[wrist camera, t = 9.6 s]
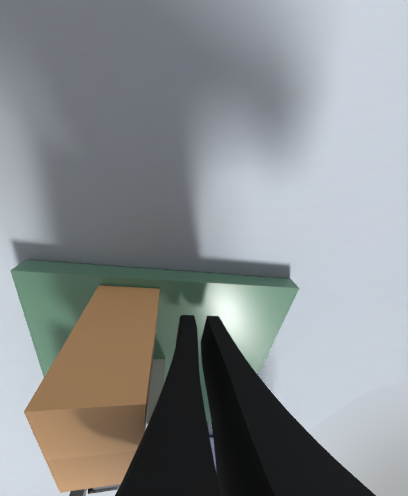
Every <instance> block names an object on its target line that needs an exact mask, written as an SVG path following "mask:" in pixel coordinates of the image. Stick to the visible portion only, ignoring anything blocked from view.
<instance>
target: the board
mask: <svg viewBox="0 0 408 496" xmlns="http://www.w3.org/2000/svg"><path fill="white" fill-rule="evenodd" d="M11 273H12V277H13V280H14V283H15V286H16V289H17V293H18V296H19V299H20V302H21V305H22V309H23V312H24V315H25V318H26V321H27V324H28V328H29V331H30V334H31V337H32V340H33V344H34V347H35V350H36V353H37V356H38V360H39V363H40V366H41V369H42V372H43V376H44V377H45V376H46V374H47V372H48V370H49V369H50V367H51V365H52V364H53V362H54V360H55V359H56V357H57V355H58V354H59V352H60V350H61V348H62V347H63V345H64V343H65V342H66V340H67V338H68V337H69V335H70V333H71V332H72V330H73V328H74V326H75V325H76V323H77V321H78V320H79V318H80V316H81V315H82V313H83V311H84V310H85V308H86V306H87V304H88V303H89V301H90V299H91V298H92V296H93V294H94V293H95V291H96V289H97V288H98V286H99V285H100V286H119V287H138V288H157V289H160V293H159V304H158V315H157V327H156V336H155V345H154V354H153V362H152V371H151V380H150V389H149V398H148V406H147V415H146V425H145V430H146V428H147V426H148V423H149V421H150V418H151V416H152V414H153V411H154V409H155V406H156V404H157V401H158V399H159V396H160V394H161V391H162V388H163V386H164V383H165V380H166V377H167V374H168V371H169V368H170V365H171V362H172V359H173V355H174V352H175V348H176V338H177V332H178V326H179V319H180V316H182V315H194V316H195V320H196V325H197V335H198V355H199V373H200V383H201V389H202V396H203V402H204V408H205V414H206V420H207V423H212V422H211V415H210V409H209V403H208V397H207V391H206V385H205V380H204V374H203V367H202V358H201V343H200V342H201V338H202V334H203V330H204V326H205V322H206V318H207V316H219V317H220V319H221V321H222V322H223V324H224V326H225V328H226V329H227V331H228V332H229V334H230V336H231V337H232V339H233V341H234V342H235V344H236V345H237V347H238V348H239V350H240V351H241V353H242V354H243V356H244V357H245V358H246V360H247V361H248V363H249V364H250V365H251V367H252V368H253V369H254V371H255V372H256V374H257V375H258V373H259V371H260V369H261V367H262V365H263V363H264V361H265V359H266V356H267V354H268V352H269V350H270V348H271V346H272V344H273V342H274V340H275V338H276V336H277V334H278V331H279V329H280V327H281V325H282V323H283V321H284V319H285V317H286V315H287V313H288V311H289V308H290V306H291V304H292V302H293V300H294V298H295V296H296V294H297V292H298V290H299V288H298V287H297V285H296V284H295V283H294V282H293V281H292V280H291V279H288V278H274V277H260V276H246V275H232V274H218V273H204V272H190V271H177V270H163V269H149V268H135V267H121V266H107V265H93V264H79V263H65V262H51V261H37V260H25V261H24V262H22V263H21V264H19V265H18V266H16V267H15V268H14V269H12V270H11ZM86 491H87V489H82V490H74V491H71V492H70V495H69V496H85V495H86Z"/></svg>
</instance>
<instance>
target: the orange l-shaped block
mask: <svg viewBox="0 0 408 496" xmlns="http://www.w3.org/2000/svg"><path fill="white" fill-rule="evenodd" d="M159 293H160V289H157V288H138V287H119V286H100V285H99V286H98V288H97V289H96V291H95V293H94V294H93V296H92V298H91V299H90V301H89V303H88V304H87V306H86V308H85V310H84V311H83V313H82V315H81V316H80V318H79V320H78V321H77V323H76V325H75V326H74V328H73V330H72V332H71V333H70V335H69V337H68V338H67V340H66V342H65V343H64V345H63V347H62V348H61V350H60V352H59V354H58V355H57V357H56V359H55V360H54V362H53V364H52V365H51V367H50V369H49V370H48V372H47V374H46V376H45V377H44V379H43V381H42V382H41V384H40V386H39V387H38V389H37V391H36V392H35V394H34V396H33V398H32V399H31V401H30V403H29V404H28V406H27V408H26V409H25V411H24V413H25V415H26V417H27V420H28V422H29V424H30V426H31V429H32V431H33V433H34V435H35V438H36V440H37V442H38V444H39V447H40V449H41V451H42V453H43V456H44V458H45V460H46V462H47V464H48V467H49V469H50V471H51V473H52V476H53V478H54V480H55V482H56V485H57V487H58V489H59V491H60V492H67V491H74V490H82V489H89V488H96V487H103V486H110V485H118V484H121V483H122V481H123V478H124V476H125V474H126V472H127V470H128V468H129V465H130V463H131V461H132V459H133V457H134V455H135V452H136V450H137V448H138V446H139V444H140V442H141V439H142V437H143V435H144V433H145V425H146V415H147V406H148V398H149V389H150V380H151V371H152V362H153V354H154V345H155V336H156V327H157V315H158V304H159Z"/></svg>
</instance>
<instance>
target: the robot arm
mask: <svg viewBox="0 0 408 496" xmlns="http://www.w3.org/2000/svg"><path fill="white" fill-rule="evenodd" d="M200 343H201V358H202V367H203V374H204V380H205V385H206V391H207V397H208V403H209V409H210V415H211V422H212V429H213V437H209V431H208V426H207V420H206V414H205V408H204V402H203V396H202V389H201V383H200V373H199V355H198V335H197V325H196V320H195V316H194V315H182V316H180V319H179V326H178V332H177V338H176V348H175V352H174V355H173V359H172V362H171V365H170V368H169V371H168V374H167V377H166V380H165V383H164V386H163V388H162V391H161V394H160V396H159V399H158V401H157V404H156V406H155V409H154V411H153V414H152V416H151V418H150V421H149V423H148V426H147V428H146V430H145V433H144V435H143V437H142V439H141V442H140V444H139V446H138V448H137V450H136V452H135V455H134V457H133V459H132V461H131V463H130V465H129V468H128V470H127V472H126V474H125V476H124V478H123V481H122V483H121V485H120V487H119V489H118V491H117V493H116V495H115V496H376V495H374V494H373V493H372V492H371V491H370V490H369V489H368V488H367V487H365V486H364V485H363V484H362V483H361V482H360V481H359V480H358V479H357V478H355V477H354V476H353V475H352V474H351V473H350V472H349V471H347V470H346V469H345V468H344V467H343V466H342V465H341V464H340V463H339V462H338V461H336V460H335V459H334V458H333V457H332V456H331V455H330V454H329V453H328V452H327V451H326V450H325V449H324V448H323V447H322V446H321V445H320V444H319V443H318V442H317V441H316V440H315V439H314V438H313V437H312V436H311V435H310V434H309V433H308V432H307V431H306V430H305V429H304V428H303V427H302V426H301V424H300V423H299V422H298V421H297V420H296V419H295V418H294V417H293V416H292V415H291V414H290V413H289V412H288V411H287V410H286V409H285V407H284V406H283V405H282V404H281V403H280V402H279V401H278V399H277V398H276V397H275V396H274V395H273V394H272V392H271V391H270V390H269V389H268V388H267V386H266V385H265V384H264V383H263V381H262V380H261V379H260V377H259V376H258V375H257V374H256V372H255V371H254V369H253V368H252V367H251V365H250V364H249V363H248V361H247V360H246V358H245V357H244V356H243V354H242V353H241V351H240V350H239V348H238V347H237V345H236V344H235V342H234V341H233V339H232V337H231V336H230V334H229V332H228V331H227V329H226V328H225V326H224V324H223V322H222V321H221V319H220V317H219V316H207V318H206V322H205V326H204V330H203V334H202V338H201V342H200Z"/></svg>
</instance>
